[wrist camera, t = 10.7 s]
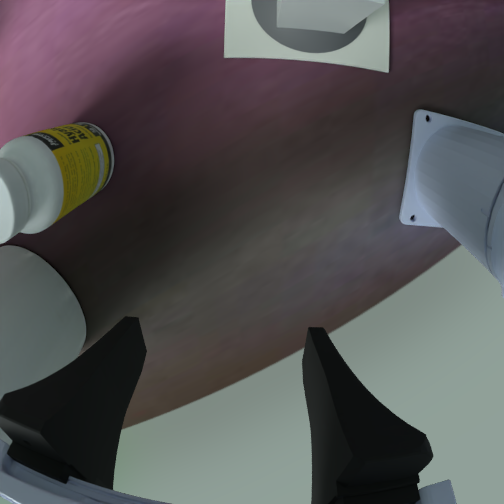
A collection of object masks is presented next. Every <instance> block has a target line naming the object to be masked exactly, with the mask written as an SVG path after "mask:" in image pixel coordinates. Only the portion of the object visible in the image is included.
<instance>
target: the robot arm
mask: <svg viewBox="0 0 504 504" xmlns="http://www.w3.org/2000/svg"><path fill="white" fill-rule="evenodd" d="M427 115H428V116H429V121H428V122H427V121H426V116H427ZM412 215H414V219H412V220H410V218H411V216H412ZM399 219H400V221H401V222H402V223H403V224H406V225H419V226H431V227H442V228H445V229H446V230H447V231H448V232H449V233H450V234H451V235H452V236H453V237H454V238H456V239H457V240H458V241H459V242H460V243H461V244H462V245H463V246H464V247H465V248H466V249H467V250H468V251H469V252H470V253H471V254H472V255H473V256H475V258H477V259H478V260H479V261H480V262H481V263H482V264H483V265H484V266H485V267H486V268H487V269H488V271H489V272H490V273H491V274H492V275H493V276H494V277H495V278H496V279H497V280H498V281H499V283H500V284H501V288H502V296H503V297H504V133H501V132H498V131H495V130H492V129H489V128H486V127H483V126H480V125H477V124H474V123H471V122H467V121H464V120H460V119H457V118H453V117H450V116H446V115H442V114H438V113H434V112H430V111H426V110H421V109H418V110H416V111H415V113H414V118H413V128H412V137H411V146H410V154H409V161H408V168H407V175H406V181H405V187H404V193H403V199H402V204H401V210H400V215H399ZM146 352H147V350H146V346H145V343H144V339H143V335H142V331H141V327H140V323H139V318H137V317H128V316H126V317H124V318H123V319H122V320H121V321H120V322H119V323H117V324H116V325H115V326H114V327H113V328H112V329H111V330H110V331H109V332H108V333H106V334H105V335H104V336H103V337H102V338H101V339H100V340H99V341H97V342H96V343H95V344H94V345H93V346H91V347H90V348H89V349H88V350H86V351H85V352H84V353H83V354H82V355H80V356H79V357H78V358H76V359H75V360H74V361H72V362H71V363H69V364H68V365H66V366H65V367H63V368H62V369H60V370H58V371H57V372H55V373H53V374H51V375H49V376H48V377H46V378H44V379H42V380H40V381H38V382H36V383H33V384H31V385H29V386H26V387H23V388H21V389H18V390H15V391H12V392H9V393H5V394H4V395H3V397H2V399H1V400H0V428H1V429H2V430H3V431H4V432H5V433H6V434H7V436H8V437H9V438H10V439H11V440H12V443H11V445H9V444H7V443H6V442H4V441H3V440H1V439H0V496H1V497H3V498H4V499H6V500H8V501H9V502H11V503H13V504H170V503H165V502H159V501H155V500H150V499H145V498H141V497H136V496H132V495H128V494H125V493H121V492H117V491H114V490H113V480H114V469H115V461H116V455H117V449H118V443H119V438H120V433H121V429H122V425H123V421H124V417H125V414H126V411H127V408H128V405H129V403H130V400H131V397H132V395H133V392H134V390H135V387H136V385H137V382H138V380H139V377H140V374H141V372H142V368H143V365H144V361H145V356H146ZM302 368H303V384H304V390H305V396H306V402H307V408H308V414H309V421H310V428H311V443H312V501H311V504H457V503H456V499H455V496H454V492H453V488H452V485H451V481H450V480H445V481H442V482H439V483H435V484H432V485H429V486H426V487H423V488H421V489H419V490H418V487H417V483H419V480H420V479H419V475H418V473H419V472H420V471H422V470H423V468H425V467H426V466H427V465H428V464H429V463H430V461H431V460H432V458H433V453H432V450H431V446H430V443H429V441H428V439H427V437H426V434H424V433H423V432H420V431H419V430H417V429H416V428H414V427H412V426H411V425H409V424H407V423H406V422H405V421H403V420H402V419H400V418H399V417H397V416H396V415H395V414H394V413H392V412H391V411H390V410H389V409H388V408H386V407H385V406H384V405H383V404H382V403H381V402H379V401H378V400H377V399H376V398H375V397H374V396H373V395H372V394H371V393H370V392H369V391H368V390H367V389H366V388H365V386H363V384H362V383H361V382H360V381H359V380H358V378H357V377H356V376H355V374H354V373H353V372H352V371H351V369H350V368H349V367H348V365H347V364H346V362H345V361H344V360H343V358H342V357H341V355H340V354H339V352H338V351H337V349H336V348H335V346H334V344H333V343H332V341H331V340H330V338H329V336H328V334H327V333H326V331H325V329H324V328H323V327H308V332H307V338H306V343H305V349H304V354H303V359H302Z"/></svg>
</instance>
